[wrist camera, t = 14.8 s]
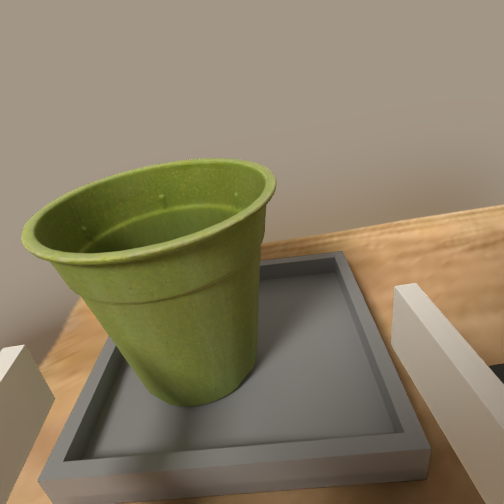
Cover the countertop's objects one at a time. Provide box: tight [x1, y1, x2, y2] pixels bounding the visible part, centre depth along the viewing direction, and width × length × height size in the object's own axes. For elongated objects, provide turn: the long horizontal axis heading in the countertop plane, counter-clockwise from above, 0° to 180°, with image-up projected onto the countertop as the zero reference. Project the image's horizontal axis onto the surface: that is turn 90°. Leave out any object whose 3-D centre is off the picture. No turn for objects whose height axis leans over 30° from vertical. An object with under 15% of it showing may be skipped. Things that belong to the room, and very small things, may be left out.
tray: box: [37, 251, 431, 504], centre depth 24 cm, size 17×17×2 cm
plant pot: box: [21, 158, 276, 407], centre depth 21 cm, size 12×12×11 cm
